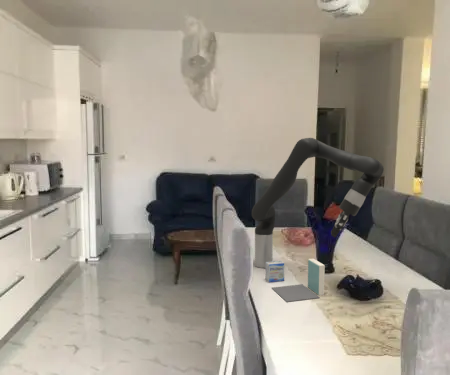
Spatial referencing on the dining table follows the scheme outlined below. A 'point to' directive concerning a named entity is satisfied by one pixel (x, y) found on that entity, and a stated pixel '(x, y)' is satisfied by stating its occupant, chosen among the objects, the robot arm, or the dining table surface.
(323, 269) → the white and teal block
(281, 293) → the mat
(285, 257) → the dining table surface
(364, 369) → the dining table surface
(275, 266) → the medicine box
